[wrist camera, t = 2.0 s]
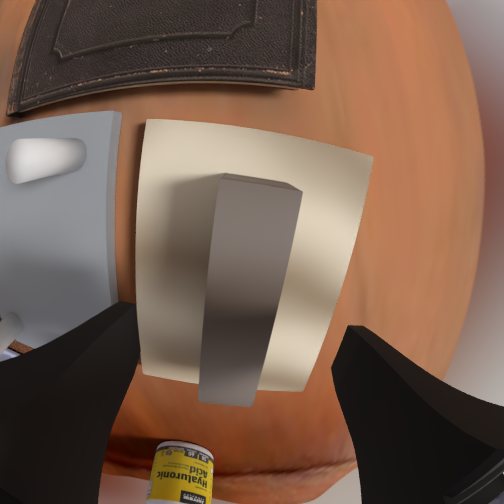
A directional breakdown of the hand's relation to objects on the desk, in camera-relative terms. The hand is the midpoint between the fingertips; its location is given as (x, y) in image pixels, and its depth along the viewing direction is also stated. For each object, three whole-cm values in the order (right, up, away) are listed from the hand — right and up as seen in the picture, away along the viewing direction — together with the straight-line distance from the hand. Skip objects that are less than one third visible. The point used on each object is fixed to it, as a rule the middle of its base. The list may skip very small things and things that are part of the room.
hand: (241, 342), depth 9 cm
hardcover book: (-4, +21, -2) cm, 22 cm away
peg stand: (-12, +3, +4) cm, 13 cm away
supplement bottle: (-6, -16, +11) cm, 20 cm away
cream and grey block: (0, +2, +5) cm, 6 cm away
